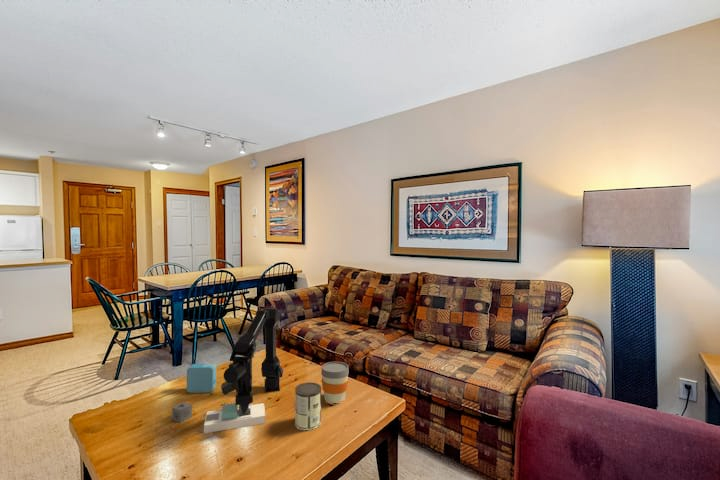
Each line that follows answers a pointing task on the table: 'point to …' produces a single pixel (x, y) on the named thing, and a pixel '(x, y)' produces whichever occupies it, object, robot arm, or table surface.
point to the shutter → (229, 411)
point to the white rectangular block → (241, 411)
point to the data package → (201, 378)
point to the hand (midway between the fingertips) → (244, 410)
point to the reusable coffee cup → (334, 381)
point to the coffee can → (307, 406)
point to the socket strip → (234, 419)
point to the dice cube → (181, 412)
